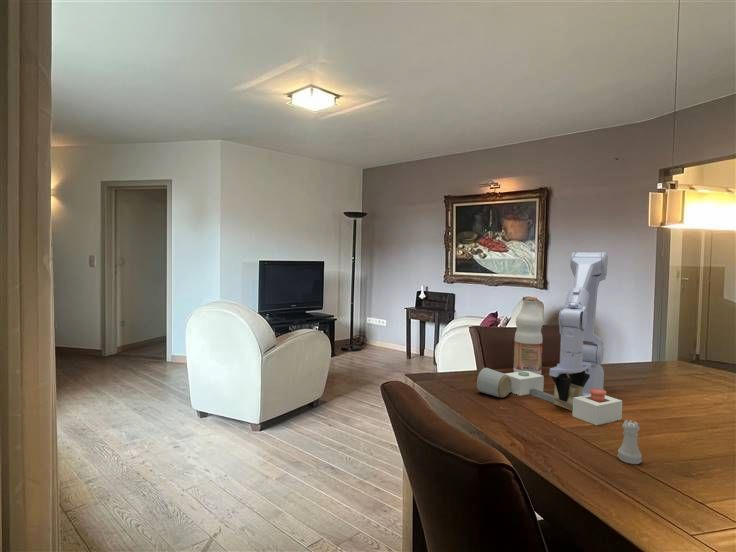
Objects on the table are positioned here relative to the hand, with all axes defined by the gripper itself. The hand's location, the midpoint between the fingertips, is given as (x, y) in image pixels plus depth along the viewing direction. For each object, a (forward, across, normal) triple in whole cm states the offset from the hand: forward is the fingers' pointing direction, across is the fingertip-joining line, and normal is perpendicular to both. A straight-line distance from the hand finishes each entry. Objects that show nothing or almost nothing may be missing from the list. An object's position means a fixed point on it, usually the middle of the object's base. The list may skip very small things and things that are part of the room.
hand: (569, 399), depth 123 cm
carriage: (+2, 0, 0) cm, 2 cm away
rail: (+2, 0, -4) cm, 5 cm away
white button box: (+2, 0, -17) cm, 17 cm away
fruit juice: (+3, -16, -30) cm, 35 cm away
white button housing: (+2, 0, +8) cm, 9 cm away
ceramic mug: (+3, +10, -18) cm, 21 cm away
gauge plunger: (-1, 0, +9) cm, 9 cm away
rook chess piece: (+3, +16, +28) cm, 32 cm away
